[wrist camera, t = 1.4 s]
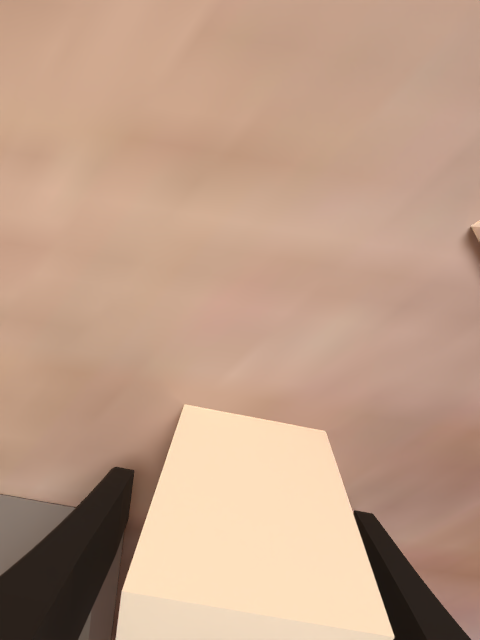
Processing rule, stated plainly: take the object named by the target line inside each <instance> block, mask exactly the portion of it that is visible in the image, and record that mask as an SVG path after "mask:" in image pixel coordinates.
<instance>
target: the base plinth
mask: <svg viewBox="0 0 480 640" xmlns="http://www.w3.org/2000/svg"><path fill="white" fill-rule="evenodd" d="M74 509H75V508H74V507H69V506H63V505H58V504H52V503H46V502H41V501H35V500H29V499H24V498H18V497H12V496H7V495H1V494H0V575H2V574H3V573H4V572H5V571H7V570H8V569H9V568H10V567H11V566H13V565H14V564H15V563H16V562H17V561H19V560H20V559H21V558H22V557H23V556H24V555H26V554H27V553H28V552H29V551H30V550H31V549H33V548H34V547H35V546H36V545H37V544H38V543H39V542H40V541H41V540H42V539H44V538H45V537H46V536H47V535H48V534H49V533H50V532H51V531H52V530H54V529H55V528H56V527H57V526H58V525H59V524H60V523H61V522H62V521H63V520H64V519H65V518H66V517H67V516H68V515H69V514H70V513H71V512H72V511H73V510H74ZM123 538H124V533H123V536H122V539H121V542H120V545H119V548H118V550H117V553H116V556H115V558H114V560H113V563H112V565H111V567H110V569H109V572H108V574H107V576H106V578H105V581H104V583H103V585H102V587H101V590H100V592H99V594H98V596H97V598H96V601H95V603H94V605H93V607H92V610H91V612H90V614H89V616H88V619H87V621H86V623H85V625H84V627H83V630H82V632H81V634H80V636H79V639H78V640H111V636H112V628H113V620H114V612H115V603H116V595H117V587H118V579H119V571H120V562H121V554H122V546H123Z"/></svg>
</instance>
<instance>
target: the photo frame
mask: <svg viewBox="0 0 480 640" xmlns="http://www.w3.org/2000/svg"><path fill="white" fill-rule="evenodd" d="M471 228H472V230H473V232H474V233H475V235H476V237H477V239H478V241H479V242H480V220H479V221H478V222H476V223H475V224H473V225H472V226H471Z"/></svg>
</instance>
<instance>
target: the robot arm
mask: <svg viewBox="0 0 480 640" xmlns="http://www.w3.org/2000/svg"><path fill="white" fill-rule="evenodd" d="M133 477H134V470H130V469H124V468H119V467H114V468H113V469H111V470H110V471H109V473H108V474H107V475H106V476H105V477H104V478H103V480H102V481H101V482H100V483H99V484H98V485H97V486H96V487H95V488H94V490H93V491H92V492H91V493H90V494H89V495H88V496H87V497H86V498H85V499H84V500H83V501H82V502H81V503H80V504H79V505H78V506H77V507H76V508H75V509H74V510H73V511H72V512H71V513H70V514H69V515H68V516H67V517H66V518H65V519H64V520H63V521H62V522H61V523H60V524H59V525H58V526H57V527H56V528H55V529H54V530H52V531H51V532H50V533H49V534H48V535H47V536H46V537H45V538H44V539H42V540H41V541H40V542H39V543H38V544H37V545H36V546H35V547H34V548H33V549H31V550H30V551H29V552H28V553H27V554H26V555H24V556H23V557H22V558H21V559H20V560H19V561H17V562H16V563H15V564H14V565H13V566H11V567H10V568H9V569H8V570H7V571H5V572H4V573H3V574H2V575H0V640H78V639H79V636H80V634H81V632H82V630H83V627H84V625H85V623H86V621H87V619H88V616H89V614H90V612H91V610H92V607H93V605H94V603H95V601H96V598H97V596H98V594H99V592H100V590H101V587H102V585H103V583H104V581H105V578H106V576H107V574H108V572H109V569H110V567H111V565H112V563H113V560H114V558H115V556H116V553H117V550H118V548H119V545H120V542H121V539H122V536H123V533H124V530H125V527H126V524H127V521H128V517H129V509H130V501H131V493H132V485H133ZM353 515H354V518H355V521H356V524H357V527H358V530H359V533H360V536H361V538H362V541H363V544H364V547H365V550H366V553H367V556H368V559H369V562H370V565H371V568H372V571H373V574H374V577H375V580H376V583H377V586H378V589H379V592H380V595H381V598H382V601H383V604H384V607H385V610H386V613H387V616H388V619H389V622H390V625H391V628H392V631H393V634H394V639H393V640H471V639H470V638H469V637H468V635H467V634H466V633H465V632H464V631H463V630H462V628H461V627H460V626H459V625H458V624H457V622H456V621H455V620H454V619H453V618H452V616H451V615H450V614H449V613H448V611H447V610H446V609H445V608H444V607H443V605H442V604H441V603H440V602H439V600H438V599H437V598H436V597H435V595H434V594H433V593H432V592H431V590H430V589H429V588H428V587H427V585H426V584H425V583H424V581H423V580H422V579H421V578H420V576H419V575H418V574H417V572H416V571H415V570H414V568H413V567H412V566H411V564H410V563H409V562H408V560H407V559H406V558H405V556H404V555H403V554H402V552H401V551H400V550H399V548H398V547H397V546H396V544H395V543H394V541H393V540H392V539H391V537H390V536H389V535H388V533H387V532H386V531H385V529H384V528H383V526H382V525H381V524H380V522H379V521H378V520H377V519H376V517H375V516H374V515H373V514H372V513H366V512H361V511H354V513H353Z"/></svg>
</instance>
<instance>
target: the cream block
mask: <svg viewBox="0 0 480 640" xmlns="http://www.w3.org/2000/svg"><path fill="white" fill-rule="evenodd" d="M393 639H394V634H393V631H392V628H391V625H390V622H389V619H388V616H387V613H386V610H385V607H384V604H383V601H382V598H381V595H380V592H379V589H378V586H377V583H376V580H375V577H374V574H373V571H372V568H371V565H370V562H369V559H368V556H367V553H366V550H365V547H364V544H363V541H362V538H361V536H360V533H359V530H358V527H357V524H356V521H355V518H354V515H353V512H352V509H351V506H350V503H349V500H348V497H347V494H346V491H345V488H344V485H343V482H342V479H341V476H340V473H339V470H338V467H337V464H336V461H335V458H334V455H333V452H332V449H331V446H330V443H329V440H328V437H327V434H326V431H322V430H317V429H312V428H306V427H301V426H296V425H291V424H285V423H280V422H275V421H270V420H264V419H259V418H254V417H249V416H243V415H238V414H233V413H228V412H222V411H217V410H212V409H207V408H201V407H196V406H191V405H186V404H184V407H183V410H182V413H181V416H180V419H179V422H178V425H177V428H176V431H175V434H174V437H173V440H172V443H171V446H170V449H169V452H168V455H167V458H166V461H165V464H164V467H163V469H162V472H161V475H160V478H159V481H158V484H157V487H156V490H155V493H154V496H153V499H152V502H151V505H150V508H149V511H148V514H147V517H146V520H145V523H144V526H143V529H142V532H141V535H140V538H139V541H138V544H137V547H136V550H135V553H134V556H133V559H132V562H131V565H130V568H129V571H128V574H127V577H126V580H125V583H124V586H123V589H122V593H121V601H120V609H119V617H118V624H117V632H116V640H393Z"/></svg>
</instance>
